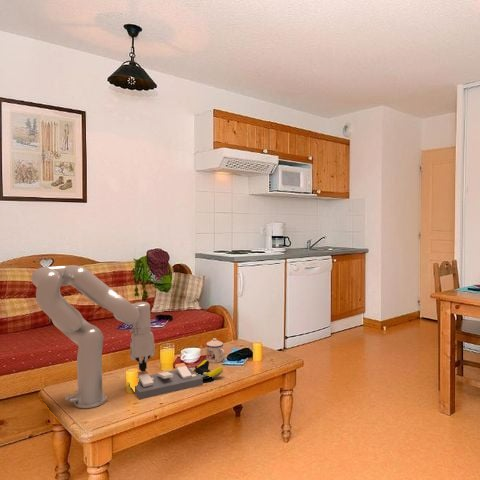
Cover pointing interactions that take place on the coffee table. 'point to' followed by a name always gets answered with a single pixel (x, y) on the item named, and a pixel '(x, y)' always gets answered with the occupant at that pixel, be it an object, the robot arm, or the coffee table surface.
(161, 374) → the rocker middle
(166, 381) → the switch panel
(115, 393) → the coffee table surface
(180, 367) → the rocker right
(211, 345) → the teacup with lid
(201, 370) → the yellow black spring clamp
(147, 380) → the rocker left
